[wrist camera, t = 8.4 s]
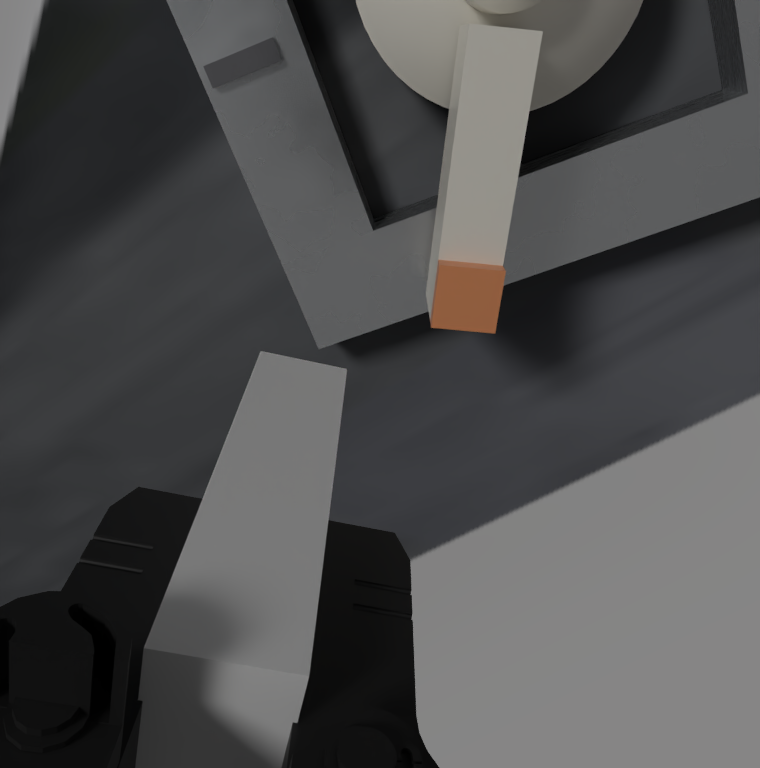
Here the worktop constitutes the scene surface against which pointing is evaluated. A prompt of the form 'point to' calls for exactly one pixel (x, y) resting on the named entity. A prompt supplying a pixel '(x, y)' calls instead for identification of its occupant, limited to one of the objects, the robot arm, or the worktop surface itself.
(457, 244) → the dial
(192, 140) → the worktop surface
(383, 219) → the housing
